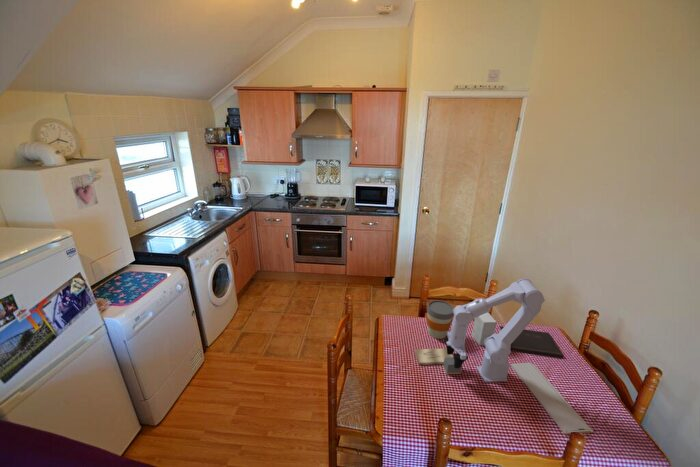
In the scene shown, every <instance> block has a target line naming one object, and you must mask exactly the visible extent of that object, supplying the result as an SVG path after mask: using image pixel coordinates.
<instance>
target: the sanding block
mask: <svg viewBox="0 0 700 467" xmlns="http://www.w3.org/2000/svg"><path fill="white" fill-rule="evenodd" d="M442 367H443V370H444V372H445V373H446V375H457V374H462V369H463V364H462V365H461V367H460V368H455V367H454V356H453V357H449V358H445V359H444V364H442Z"/></svg>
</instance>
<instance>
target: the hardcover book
mask: <svg viewBox="0 0 700 467" xmlns="http://www.w3.org/2000/svg"><path fill="white" fill-rule="evenodd" d="M504 327H505V326H503V325H499V332H500V331H501V330H502V329H503V328H504ZM510 352H518V353H523V354H528V355H529V354H530V355H531V354H532V355H537V356H545V357H549V356H550V357H551V358H556V357H557V359H563V358H564V354H563V352H562V351H561V349H560V347H558V345H557V343H556V342H555V340H554V338H553V337H552V334H550V332H545V331H538V330H532V329H526V328H525V329H524V330H523V331H522V332H521V333H520V334H519V336H518V337H517V338H516V339H515V340H514V341H513V342H512V343H511V348H510Z"/></svg>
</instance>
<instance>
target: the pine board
mask: <svg viewBox="0 0 700 467" xmlns="http://www.w3.org/2000/svg"><path fill="white" fill-rule="evenodd" d="M413 352H414V354H415V357H416V359H417V362H418V365H419V366H425V365H427V366H428V365H444V359H445V358H449V357H454V356H453V354H450V355H448V354H447V347H446V348H422V349H421V348H416V349H414V351H413Z"/></svg>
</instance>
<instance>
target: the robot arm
mask: <svg viewBox="0 0 700 467" xmlns="http://www.w3.org/2000/svg"><path fill="white" fill-rule="evenodd" d="M512 301H513V302H516V303H519V304H522V305H521V307H520V308H519V309H518V310H516V312H515V314H514V315H512V316H511V318H510V319H509V320H508V322H507V323H506V324H505V325H504V326H503V327H504V328H503V329H502V330H501V331H500V330H499V332H498V333H494V334H493V335H492V336H490V337H488V338H486V339H485V341H484V345H483V346H484V347H485V351H484V353H483V358H482V362H481V365H478V366H476V369H477V371H478V373H479V374H480V376H481V377H482V379H483V380H484V383H490V382H491V383H492V382H493V383H494V382H507V381H508V379H507V377H508V373H509V370H510V362H509V359H508V357H509V355H510V354H511V351H510V348H511V343H512V342H513V341H514V340H515V339H516V338H517V337H518V336H519V334H520V333H521V332H522V331H523V330H524V329H525V330H526V328H527V326H529V325H530V324H531V322H532V321H533V320H534V318H536V317H537V315H538V314H539V313H540V312H541V310H542V309H541V308H542V305H543V303H544V302H545V298H544V295H543V293H542V292H541V291H540V290H539V289H538V288H537V287H536V286H535V285H534V283H533V282H532V280H530V279H528V278H519V279H518V280H516V281H513V282H512V283H511V284H510V285H509V286H508V287H506V288H504V289H503V290H500V291H499V292H497V293H495V294H493V295H491V296H488V297H487V298H482V297H479V298H475V299H474V300H473V301H471V302H468V303H466V304H460V305H456V306H455V307H454V309H453V314H454V316H453V318H452V323H451V329H450V330H448V332H447V335H446V336H447V337H445V338H443V339H444V342H445V346H446V348H447V354H448V355H450V354H452V355H453V357H454V367H455V368H460V367H461V365H462V366H463V363H464V362H465V361H467V360H468V359H469V356H468V354H467V353H466V344H465V342H466V337H467V333H468V332H467V331H468V325H470V324H471V323H472V321H473V320H475V318H476V317H478V316H480V315H483V314H485V313H487V312H488V313H489V312H490V310H491V308H493V307H496V306H499V305H502V304H505V303H508V302H512ZM454 351H455V352H457V353H454Z"/></svg>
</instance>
